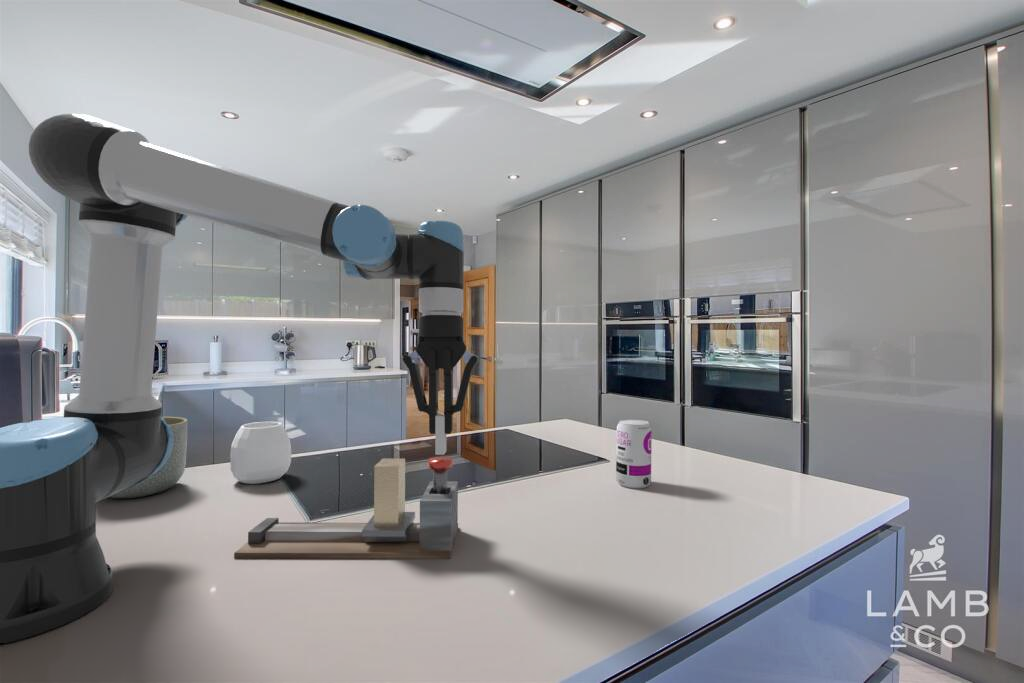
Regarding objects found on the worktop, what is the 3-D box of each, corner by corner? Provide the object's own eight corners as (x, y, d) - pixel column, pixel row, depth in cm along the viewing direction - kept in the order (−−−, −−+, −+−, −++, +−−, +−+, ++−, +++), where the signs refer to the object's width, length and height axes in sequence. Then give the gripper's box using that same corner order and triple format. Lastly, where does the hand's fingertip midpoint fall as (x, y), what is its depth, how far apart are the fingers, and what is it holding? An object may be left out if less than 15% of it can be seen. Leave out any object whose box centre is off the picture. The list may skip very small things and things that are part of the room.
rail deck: (449, 558, 73) (450, 503, 73) (234, 557, 73) (234, 502, 73) (458, 527, 85) (458, 479, 85) (272, 526, 85) (273, 478, 85)
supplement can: (654, 482, 113) (655, 421, 113) (645, 491, 106) (645, 426, 106) (622, 476, 117) (623, 417, 117) (611, 485, 110) (611, 422, 110)
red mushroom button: (450, 505, 77) (450, 462, 77) (426, 505, 77) (426, 462, 77) (453, 497, 81) (453, 456, 81) (430, 497, 81) (430, 456, 81)
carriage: (405, 545, 75) (405, 469, 75) (361, 545, 75) (362, 468, 75) (415, 525, 83) (415, 456, 83) (376, 525, 83) (376, 456, 83)
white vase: (282, 468, 122) (282, 417, 122) (298, 480, 112) (299, 425, 112) (224, 478, 113) (224, 423, 113) (236, 492, 103) (237, 432, 103)
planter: (158, 476, 114) (158, 414, 114) (204, 485, 108) (204, 419, 108) (72, 498, 99) (72, 426, 99) (119, 509, 92) (119, 433, 92)
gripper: (480, 315, 83) (480, 447, 83) (407, 315, 82) (407, 447, 83) (478, 313, 75) (477, 458, 75) (397, 313, 75) (397, 458, 75)
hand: (440, 452), depth 79 cm, fingers closed
